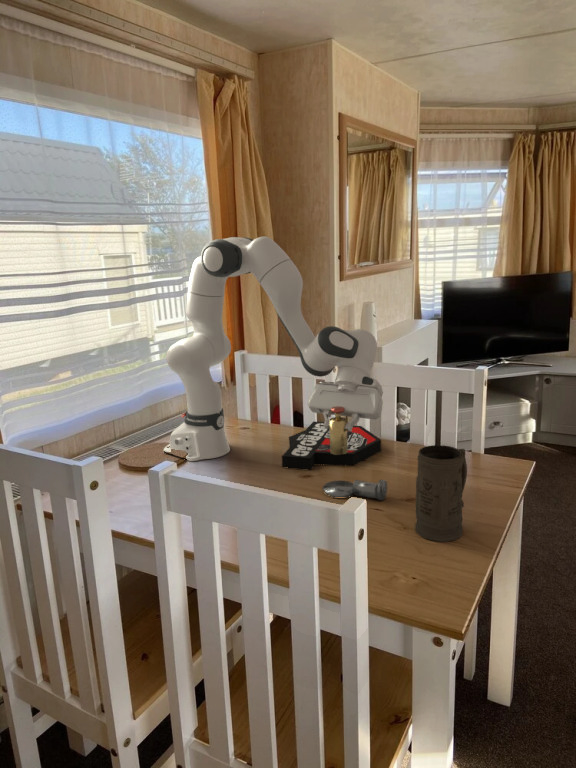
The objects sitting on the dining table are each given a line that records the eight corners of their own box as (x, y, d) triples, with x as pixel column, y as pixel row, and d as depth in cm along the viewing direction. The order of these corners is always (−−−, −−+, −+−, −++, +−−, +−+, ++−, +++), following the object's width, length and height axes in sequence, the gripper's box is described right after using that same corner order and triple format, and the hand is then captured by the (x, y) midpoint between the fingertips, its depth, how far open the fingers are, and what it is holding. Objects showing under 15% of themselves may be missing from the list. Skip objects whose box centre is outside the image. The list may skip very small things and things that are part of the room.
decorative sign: (277, 470, 174) (377, 474, 167) (276, 457, 173) (377, 460, 166) (298, 432, 206) (383, 434, 200) (298, 421, 205) (383, 423, 199)
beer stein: (448, 548, 126) (454, 461, 122) (405, 534, 133) (408, 451, 129) (477, 525, 137) (482, 445, 133) (435, 513, 144) (440, 436, 140)
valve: (327, 453, 153) (326, 410, 150) (334, 447, 157) (333, 405, 154) (343, 455, 151) (342, 411, 148) (350, 450, 154) (349, 406, 151)
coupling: (317, 495, 155) (317, 477, 153) (331, 482, 162) (331, 465, 161) (378, 506, 147) (378, 487, 145) (389, 492, 154) (389, 474, 153)
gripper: (312, 375, 160) (298, 418, 154) (383, 380, 150) (370, 427, 144) (320, 386, 165) (306, 429, 159) (388, 393, 155) (376, 438, 149)
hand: (337, 428), depth 151 cm, fingers closed on valve, 5 cm apart
